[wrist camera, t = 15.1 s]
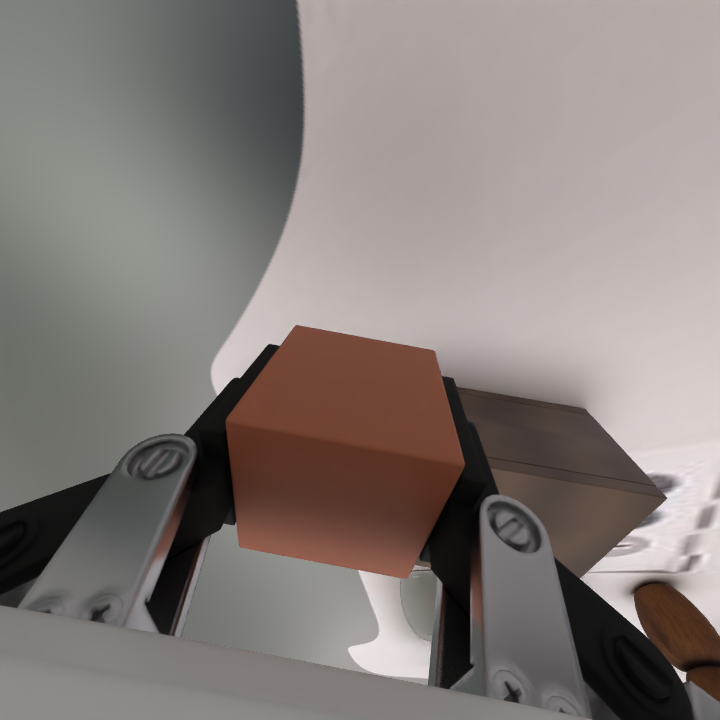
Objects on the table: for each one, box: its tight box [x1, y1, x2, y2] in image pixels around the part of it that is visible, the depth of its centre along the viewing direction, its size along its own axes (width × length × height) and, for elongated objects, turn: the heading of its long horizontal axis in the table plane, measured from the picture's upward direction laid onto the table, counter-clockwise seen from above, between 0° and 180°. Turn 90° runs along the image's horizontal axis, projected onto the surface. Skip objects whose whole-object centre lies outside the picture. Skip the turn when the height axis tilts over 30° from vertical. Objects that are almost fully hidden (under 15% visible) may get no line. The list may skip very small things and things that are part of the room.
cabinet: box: [415, 387, 667, 579], centre depth 25 cm, size 15×13×9 cm
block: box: [226, 325, 465, 579], centre depth 8 cm, size 4×4×4 cm
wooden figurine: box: [634, 583, 720, 703], centre depth 32 cm, size 7×6×15 cm
